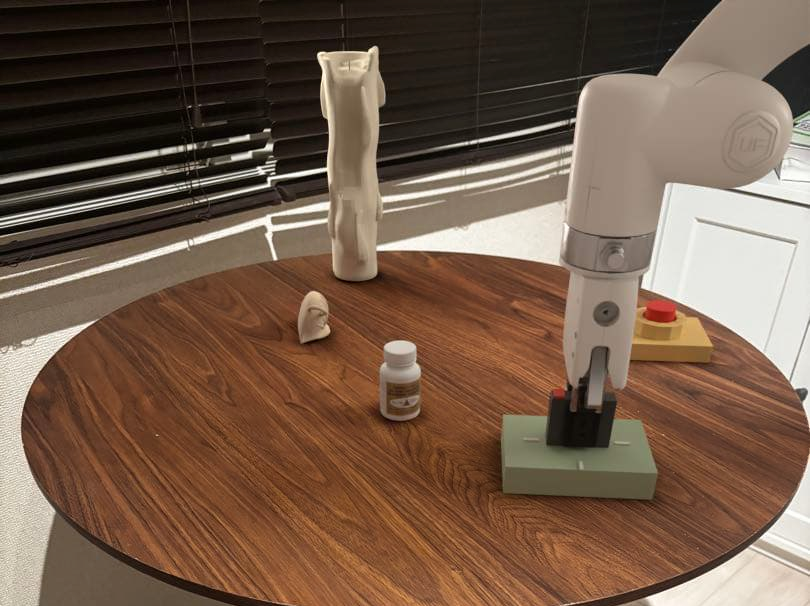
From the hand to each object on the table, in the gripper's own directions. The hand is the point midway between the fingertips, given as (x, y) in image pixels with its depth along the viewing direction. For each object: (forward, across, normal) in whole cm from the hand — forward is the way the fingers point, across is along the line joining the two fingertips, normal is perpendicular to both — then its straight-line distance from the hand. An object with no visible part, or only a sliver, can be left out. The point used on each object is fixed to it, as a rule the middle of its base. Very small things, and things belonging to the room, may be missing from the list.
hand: (577, 437), depth 78 cm
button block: (+4, +30, -13) cm, 33 cm away
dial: (0, 0, 0) cm, 0 cm away
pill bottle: (+4, +10, +18) cm, 21 cm away
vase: (+4, +52, +28) cm, 59 cm away
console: (+4, 0, 0) cm, 4 cm away
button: (0, +30, -13) cm, 33 cm away
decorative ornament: (+4, +30, +31) cm, 43 cm away
